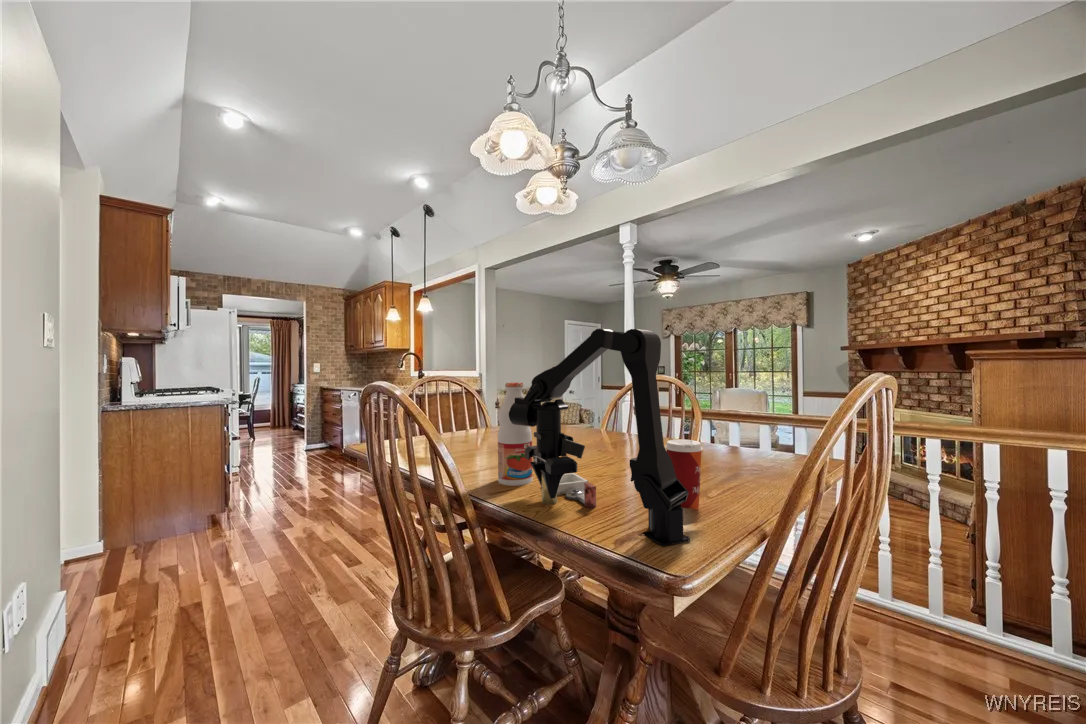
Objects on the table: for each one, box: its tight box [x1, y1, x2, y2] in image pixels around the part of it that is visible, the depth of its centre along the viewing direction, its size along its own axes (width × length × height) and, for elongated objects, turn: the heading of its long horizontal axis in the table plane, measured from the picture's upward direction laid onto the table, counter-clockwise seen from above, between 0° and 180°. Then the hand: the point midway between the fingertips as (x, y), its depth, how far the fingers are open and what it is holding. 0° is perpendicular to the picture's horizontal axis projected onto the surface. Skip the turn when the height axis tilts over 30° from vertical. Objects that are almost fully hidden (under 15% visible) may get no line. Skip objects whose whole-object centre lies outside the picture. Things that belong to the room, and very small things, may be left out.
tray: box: [557, 473, 589, 496], centre depth 110 cm, size 8×8×2 cm
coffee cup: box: [664, 438, 704, 511], centre depth 97 cm, size 8×8×15 cm
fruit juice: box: [497, 382, 534, 487], centre depth 117 cm, size 9×9×28 cm
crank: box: [565, 481, 597, 509], centre depth 99 cm, size 12×5×5 cm, turn 21°
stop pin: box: [541, 475, 558, 506], centre depth 99 cm, size 4×4×7 cm
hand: (549, 495), depth 99 cm, fingers closed on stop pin, 4 cm apart
